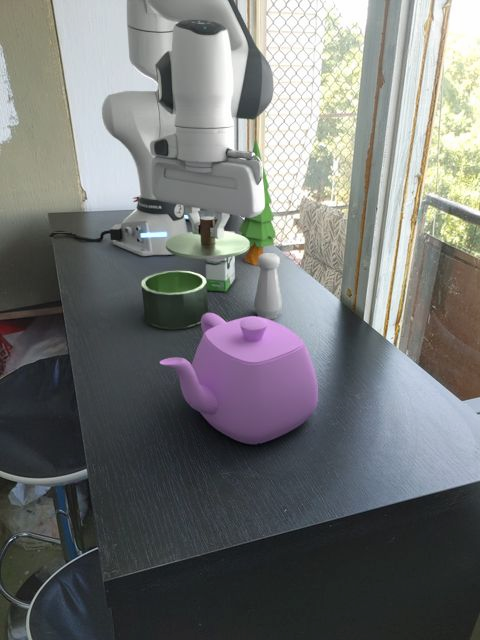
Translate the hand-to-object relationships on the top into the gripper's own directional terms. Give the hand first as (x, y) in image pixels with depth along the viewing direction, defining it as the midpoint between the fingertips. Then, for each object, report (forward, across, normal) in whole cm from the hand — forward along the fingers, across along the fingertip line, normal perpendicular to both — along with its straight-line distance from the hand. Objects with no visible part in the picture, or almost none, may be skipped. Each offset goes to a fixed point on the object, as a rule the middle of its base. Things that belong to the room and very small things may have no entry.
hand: (207, 235), depth 86 cm
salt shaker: (+21, -2, -17) cm, 27 cm away
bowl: (+20, +14, -6) cm, 25 cm away
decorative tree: (+21, +18, -44) cm, 51 cm away
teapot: (+21, -18, +14) cm, 31 cm away
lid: (+2, 0, 0) cm, 2 cm away
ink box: (+21, +16, -25) cm, 36 cm away
